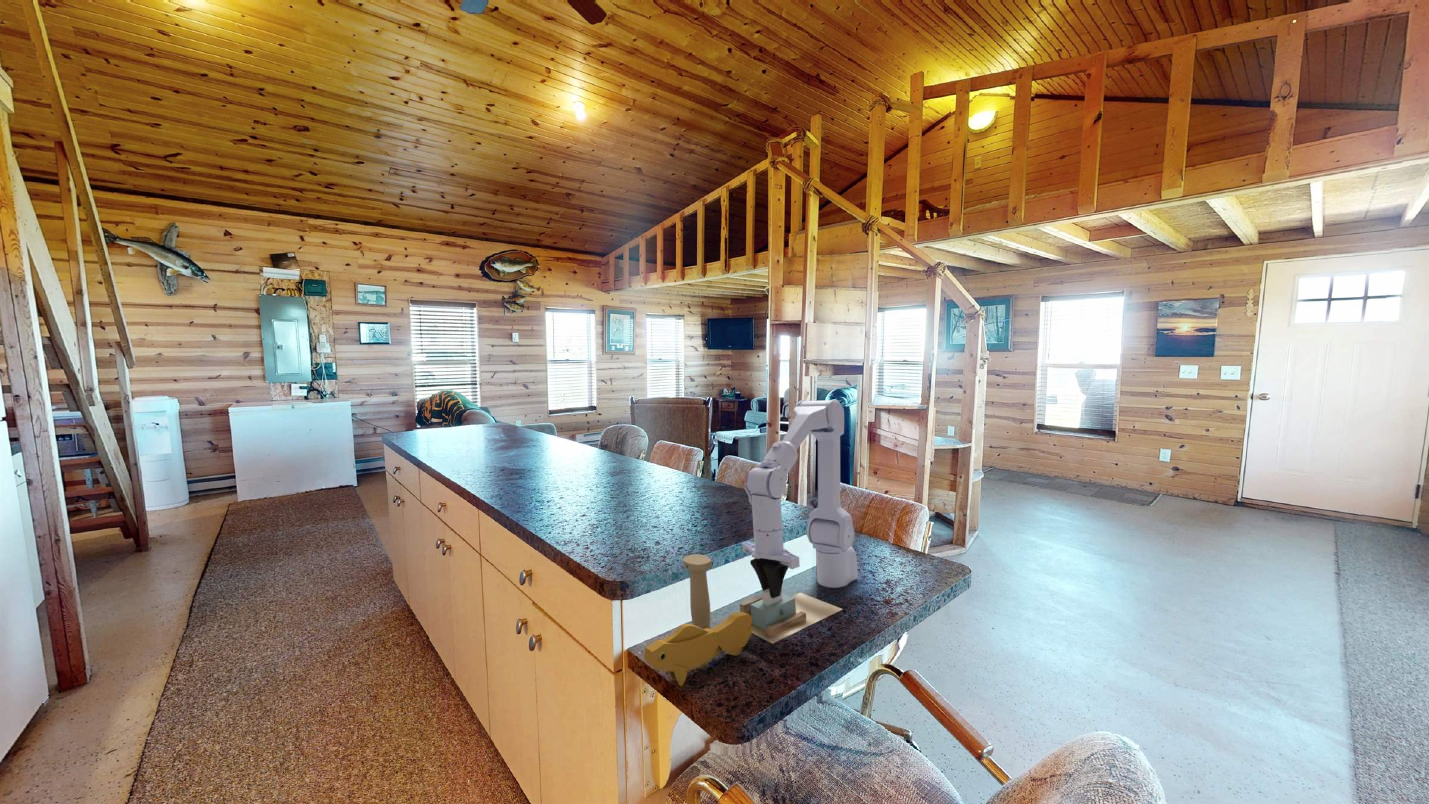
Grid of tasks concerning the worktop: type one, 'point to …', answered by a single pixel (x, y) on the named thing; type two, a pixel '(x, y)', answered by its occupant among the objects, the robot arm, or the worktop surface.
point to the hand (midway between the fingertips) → (772, 594)
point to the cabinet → (772, 609)
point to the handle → (699, 589)
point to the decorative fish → (698, 645)
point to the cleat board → (792, 617)
